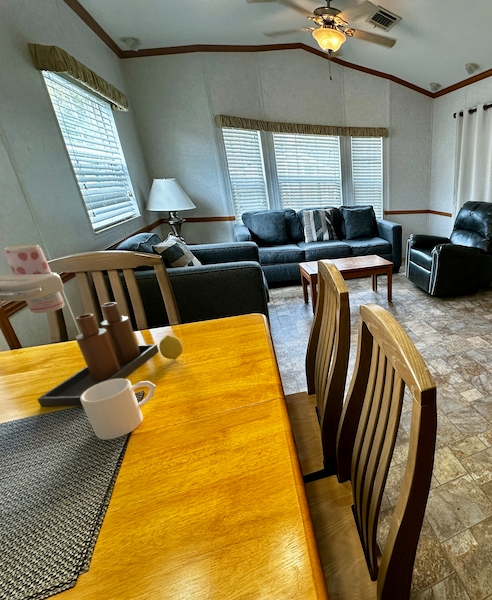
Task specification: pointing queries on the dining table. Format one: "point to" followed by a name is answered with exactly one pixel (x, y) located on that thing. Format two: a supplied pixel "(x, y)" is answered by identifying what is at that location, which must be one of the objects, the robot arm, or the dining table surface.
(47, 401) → the tray
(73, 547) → the dining table surface
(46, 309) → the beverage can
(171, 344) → the lemon
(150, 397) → the mug
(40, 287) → the robot arm
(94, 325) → the bottle middle
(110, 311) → the bottle back
